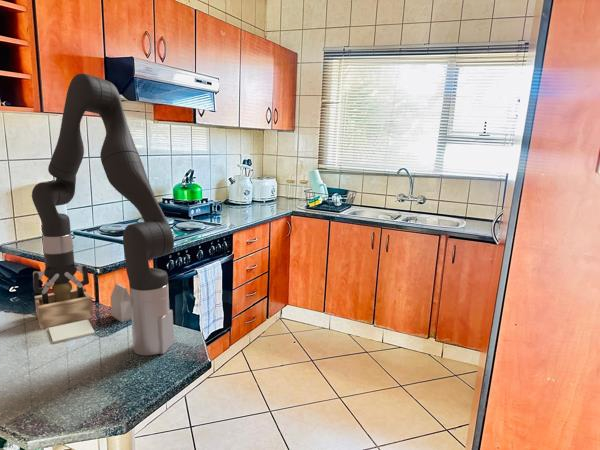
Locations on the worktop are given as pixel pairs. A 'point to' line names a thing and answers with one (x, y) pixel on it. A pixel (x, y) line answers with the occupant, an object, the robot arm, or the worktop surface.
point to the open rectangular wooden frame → (63, 309)
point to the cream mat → (71, 331)
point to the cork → (62, 291)
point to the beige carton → (120, 303)
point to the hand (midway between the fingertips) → (63, 301)
